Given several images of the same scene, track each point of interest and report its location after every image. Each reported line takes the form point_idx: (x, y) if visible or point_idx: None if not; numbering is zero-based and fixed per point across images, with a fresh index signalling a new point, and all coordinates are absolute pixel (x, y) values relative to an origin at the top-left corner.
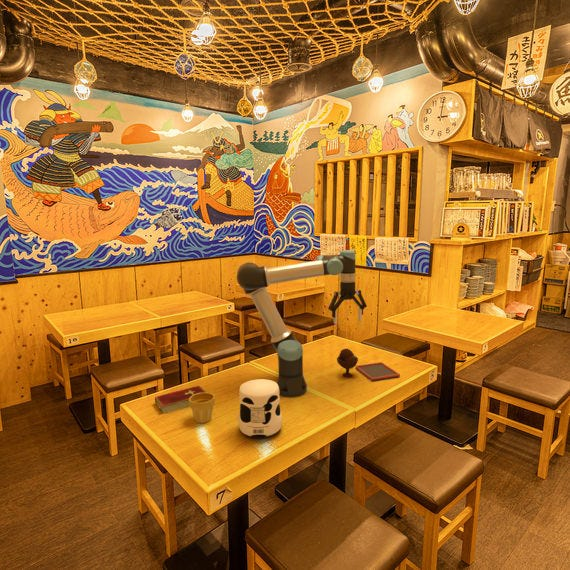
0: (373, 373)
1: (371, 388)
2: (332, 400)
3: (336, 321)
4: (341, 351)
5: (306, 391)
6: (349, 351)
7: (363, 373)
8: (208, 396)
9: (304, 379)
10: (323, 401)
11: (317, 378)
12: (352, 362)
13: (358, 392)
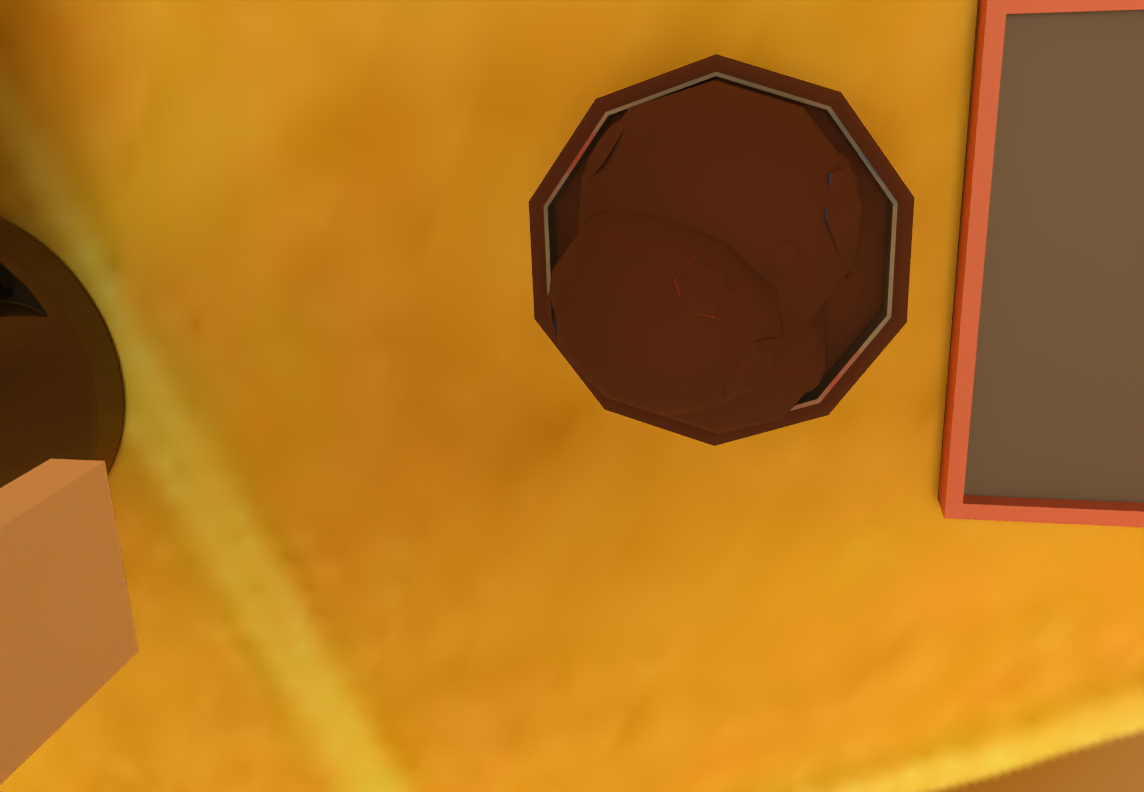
0: (1104, 330)
1: (828, 647)
2: (319, 715)
3: (45, 715)
4: (561, 310)
5: (111, 464)
6: (698, 397)
7: (960, 279)
8: None
9: (19, 467)
10: (233, 699)
11: (311, 156)
12: (717, 440)
13: (637, 672)
